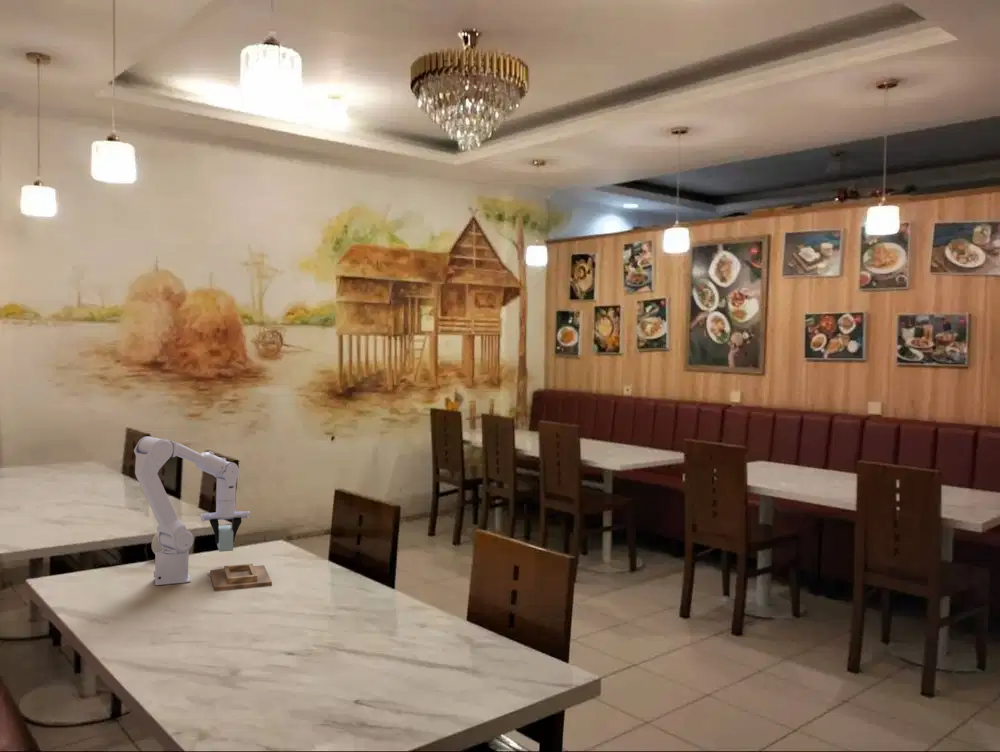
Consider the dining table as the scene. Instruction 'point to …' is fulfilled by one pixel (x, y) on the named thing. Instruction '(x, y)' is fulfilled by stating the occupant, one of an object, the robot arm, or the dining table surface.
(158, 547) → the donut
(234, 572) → the cradle
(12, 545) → the dining table surface
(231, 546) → the tall light blue prism
